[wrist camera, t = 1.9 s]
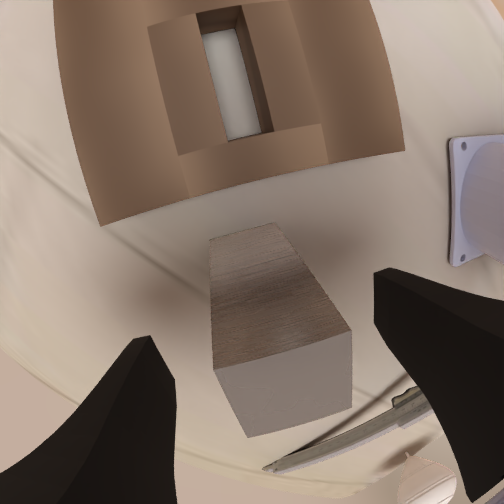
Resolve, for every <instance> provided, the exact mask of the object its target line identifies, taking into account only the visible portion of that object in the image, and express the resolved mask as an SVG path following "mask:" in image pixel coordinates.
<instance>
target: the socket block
mask: <svg viewBox="0 0 504 504" xmlns="http://www.w3.org/2000/svg"><path fill="white" fill-rule="evenodd" d="M53 9H54V26H55V38H56V47H57V56H58V63H59V70H60V77H61V83H62V89H63V94H64V99H65V104H66V109H67V114H68V119H69V123H70V127H71V132H72V136H73V140H74V144H75V148H76V151H77V155H78V159H79V162H80V166H81V169H82V173H83V176H84V179H85V182H86V186H87V189H88V192H89V195H90V198H91V201H92V204H93V207H94V210H95V213H96V215H97V218H98V221H99V224H100V226H104V225H107V224H110V223H113V222H116V221H119V220H122V219H125V218H128V217H131V216H134V215H137V214H140V213H143V212H146V211H149V210H152V209H156V208H159V207H162V206H165V205H169V204H172V203H175V202H179V201H182V200H185V199H189V198H192V197H196V196H199V195H203V194H206V193H210V192H214V191H217V190H221V189H225V188H228V187H232V186H236V185H240V184H244V183H248V182H252V181H256V180H260V179H264V178H268V177H272V176H277V175H281V174H285V173H290V172H294V171H299V170H303V169H308V168H312V167H317V166H322V165H327V164H332V163H337V162H342V161H347V160H353V159H358V158H364V157H369V156H375V155H381V154H387V153H394V152H400V151H405V145H404V138H403V131H402V125H401V118H400V113H399V107H398V102H397V97H396V92H395V87H394V83H393V78H392V74H391V70H390V66H389V62H388V58H387V54H386V51H385V47H384V44H383V40H382V37H381V34H380V30H379V27H378V24H377V21H376V18H375V15H374V12H373V9H372V7H371V4H370V1H369V0H53ZM231 28H235V30H236V33H237V37H238V40H239V44H240V48H241V52H242V55H243V59H244V63H245V67H246V70H247V74H248V78H249V82H250V86H251V90H252V94H253V98H254V102H255V106H256V110H257V114H258V118H259V123H260V127H261V131H262V133H259V134H255V135H250V136H246V137H241V138H237V139H233V140H229V141H228V140H227V136H226V132H225V129H224V125H223V121H222V117H221V113H220V109H219V105H218V101H217V97H216V93H215V89H214V85H213V81H212V77H211V73H210V69H209V65H208V61H207V57H206V53H205V49H204V46H203V42H202V38H201V35H202V34H206V33H211V32H215V31H220V30H226V29H231Z"/></svg>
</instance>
